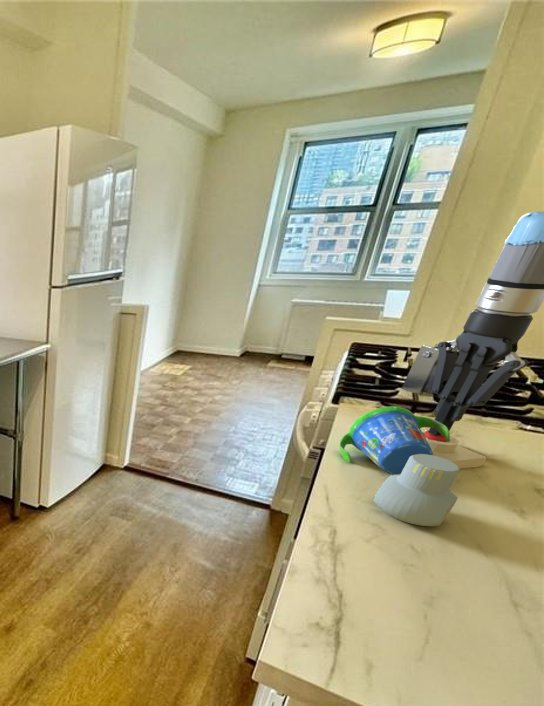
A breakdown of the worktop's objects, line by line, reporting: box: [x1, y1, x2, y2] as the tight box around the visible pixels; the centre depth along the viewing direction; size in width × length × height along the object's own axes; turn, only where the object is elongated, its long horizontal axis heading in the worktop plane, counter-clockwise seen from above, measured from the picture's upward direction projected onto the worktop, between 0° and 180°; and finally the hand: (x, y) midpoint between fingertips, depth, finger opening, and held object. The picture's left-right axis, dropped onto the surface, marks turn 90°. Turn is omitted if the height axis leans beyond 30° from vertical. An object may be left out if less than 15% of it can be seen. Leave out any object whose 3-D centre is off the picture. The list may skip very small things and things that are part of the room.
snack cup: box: [339, 406, 451, 475], centre depth 91 cm, size 16×10×10 cm
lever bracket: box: [401, 343, 439, 396], centre depth 120 cm, size 12×9×13 cm
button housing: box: [421, 429, 487, 470], centre depth 96 cm, size 12×10×4 cm
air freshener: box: [373, 454, 461, 527], centre depth 77 cm, size 11×8×10 cm
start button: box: [424, 431, 447, 442], centre depth 95 cm, size 4×4×2 cm
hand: (437, 433), depth 94 cm, fingers closed
